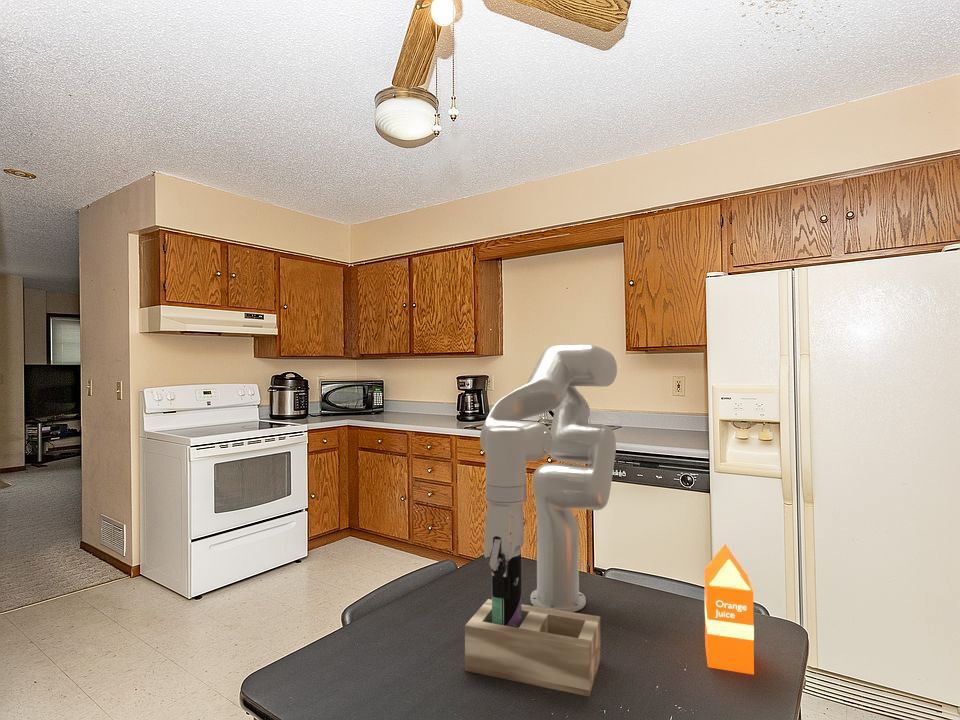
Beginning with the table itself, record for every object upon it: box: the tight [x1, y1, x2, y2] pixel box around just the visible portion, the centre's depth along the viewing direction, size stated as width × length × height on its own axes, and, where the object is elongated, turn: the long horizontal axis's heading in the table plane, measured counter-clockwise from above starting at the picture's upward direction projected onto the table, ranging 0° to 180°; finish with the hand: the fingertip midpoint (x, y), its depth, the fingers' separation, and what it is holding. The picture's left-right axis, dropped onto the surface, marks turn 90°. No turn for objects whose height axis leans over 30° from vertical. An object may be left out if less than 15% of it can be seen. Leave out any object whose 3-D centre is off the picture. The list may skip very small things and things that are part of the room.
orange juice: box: [703, 543, 755, 675], centre depth 103 cm, size 8×9×20 cm
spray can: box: [491, 546, 522, 628], centre depth 103 cm, size 6×6×20 cm
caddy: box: [464, 598, 601, 697], centre depth 101 cm, size 12×22×8 cm, turn 69°
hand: (506, 589), depth 103 cm, fingers closed on spray can, 5 cm apart
